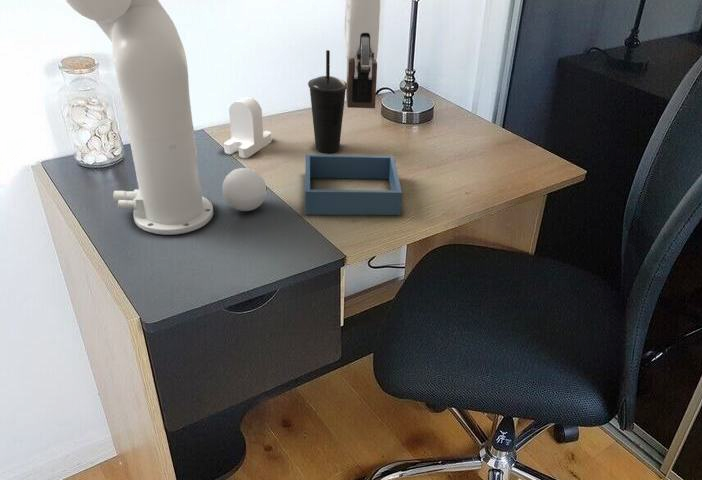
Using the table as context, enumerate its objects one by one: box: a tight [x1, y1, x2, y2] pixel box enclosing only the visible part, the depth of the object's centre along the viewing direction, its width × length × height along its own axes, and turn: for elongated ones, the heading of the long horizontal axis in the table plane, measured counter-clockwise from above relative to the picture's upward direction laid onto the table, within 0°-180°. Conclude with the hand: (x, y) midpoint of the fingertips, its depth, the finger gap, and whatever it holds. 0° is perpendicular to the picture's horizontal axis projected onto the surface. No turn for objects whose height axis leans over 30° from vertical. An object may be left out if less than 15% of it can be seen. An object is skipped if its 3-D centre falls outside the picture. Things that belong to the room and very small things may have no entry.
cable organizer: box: [223, 96, 272, 159], centre depth 130 cm, size 5×10×10 cm, turn 159°
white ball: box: [221, 167, 268, 212], centre depth 112 cm, size 10×7×7 cm
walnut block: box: [345, 54, 378, 109], centre depth 108 cm, size 5×5×8 cm
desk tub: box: [304, 154, 403, 216], centre depth 119 cm, size 17×15×4 cm
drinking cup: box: [307, 49, 347, 154], centre depth 130 cm, size 8×8×20 cm
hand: (360, 94), depth 109 cm, fingers closed on walnut block, 4 cm apart
